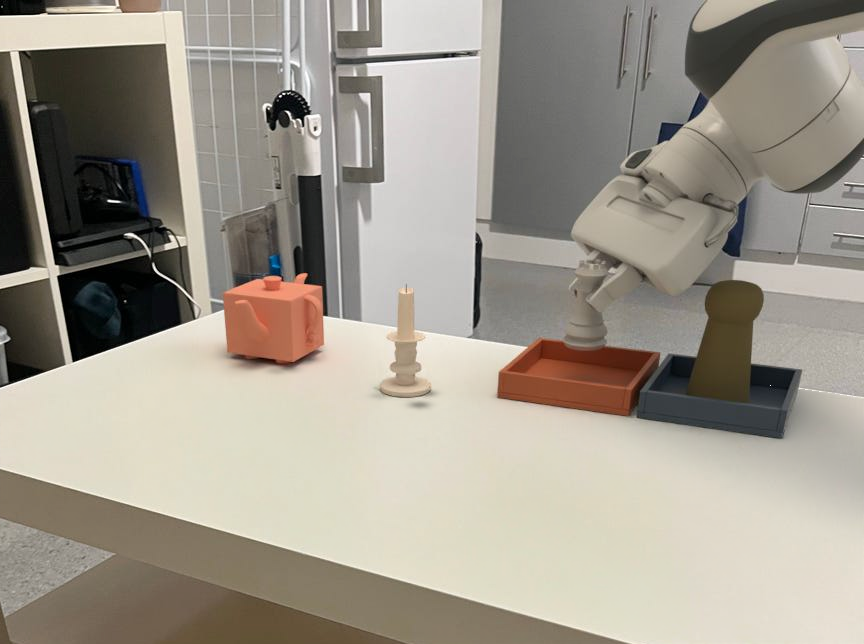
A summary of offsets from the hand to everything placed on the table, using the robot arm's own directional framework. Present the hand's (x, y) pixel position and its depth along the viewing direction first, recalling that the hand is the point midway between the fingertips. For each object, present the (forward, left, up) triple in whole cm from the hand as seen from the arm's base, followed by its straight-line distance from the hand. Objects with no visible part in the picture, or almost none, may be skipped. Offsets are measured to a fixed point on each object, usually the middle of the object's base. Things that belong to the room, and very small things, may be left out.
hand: (582, 301), depth 99 cm
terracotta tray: (0, -1, -9) cm, 9 cm away
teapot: (+34, +2, -9) cm, 35 cm away
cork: (-14, -1, -8) cm, 16 cm away
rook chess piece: (0, 0, -5) cm, 5 cm away
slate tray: (-14, -1, -9) cm, 17 cm away
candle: (+16, +7, -9) cm, 19 cm away
